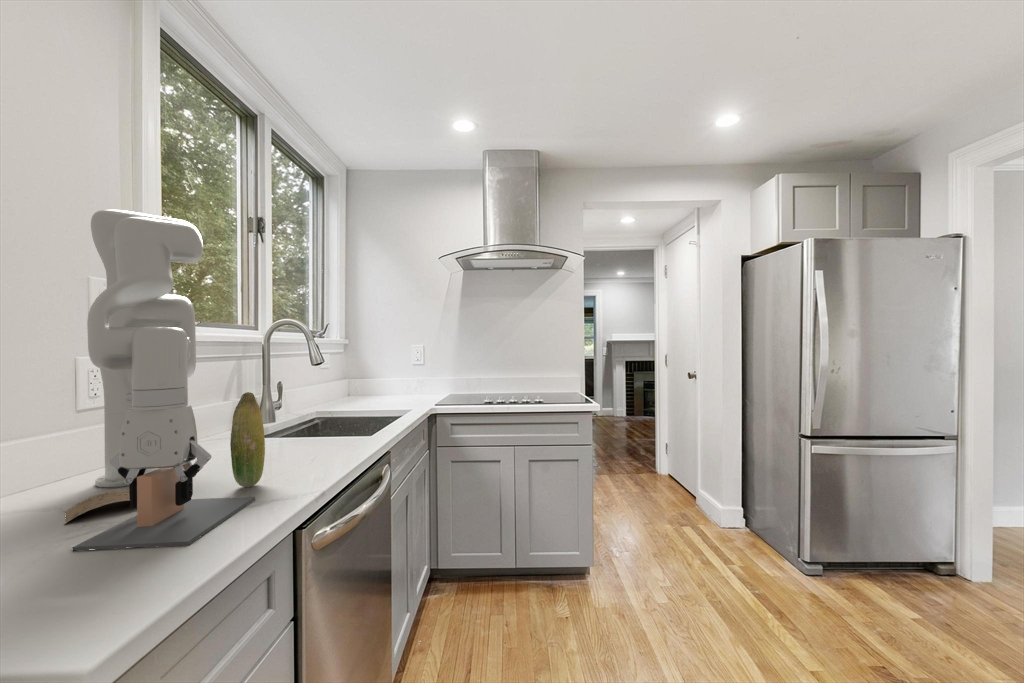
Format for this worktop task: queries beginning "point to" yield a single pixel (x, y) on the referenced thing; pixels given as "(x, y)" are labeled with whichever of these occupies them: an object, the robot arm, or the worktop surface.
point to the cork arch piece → (96, 503)
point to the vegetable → (247, 441)
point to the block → (156, 496)
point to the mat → (169, 526)
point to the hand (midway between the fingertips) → (161, 503)
